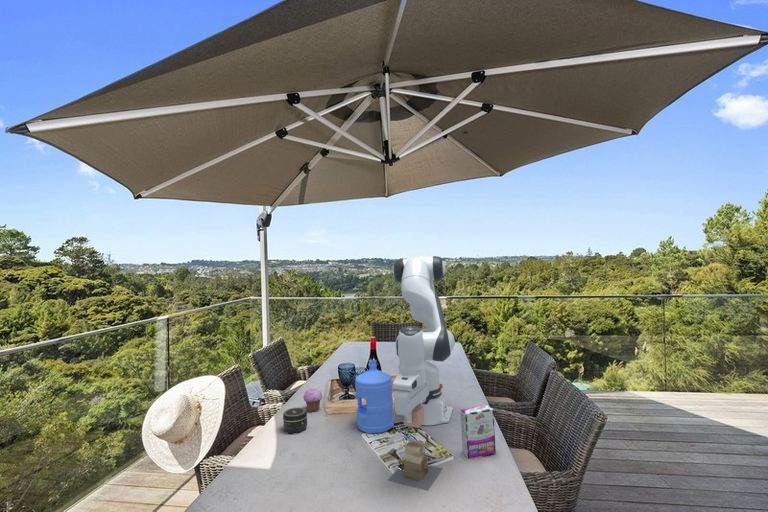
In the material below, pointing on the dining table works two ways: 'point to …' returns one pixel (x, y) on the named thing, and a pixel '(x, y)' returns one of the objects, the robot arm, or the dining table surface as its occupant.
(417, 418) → the terracotta block
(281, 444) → the dining table surface
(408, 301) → the robot arm
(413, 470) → the tower base
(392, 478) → the mat
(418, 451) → the tower mid
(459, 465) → the dining table surface
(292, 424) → the jar
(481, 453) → the candy bar box
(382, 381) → the water jug
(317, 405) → the cupcake
